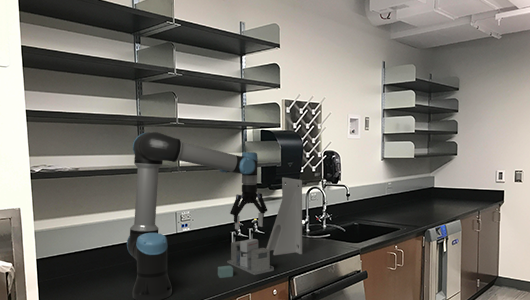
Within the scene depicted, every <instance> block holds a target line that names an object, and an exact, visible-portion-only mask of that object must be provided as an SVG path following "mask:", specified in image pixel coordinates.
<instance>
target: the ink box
mask: <svg viewBox="0 0 530 300" xmlns="http://www.w3.org/2000/svg"><path fill="white" fill-rule="evenodd" d="M240 241H241V242H240V265H241V266H244V267H250V266H251V250H254V249H259V240H258V239H256V238H250V239H245V240H240Z"/></svg>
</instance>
